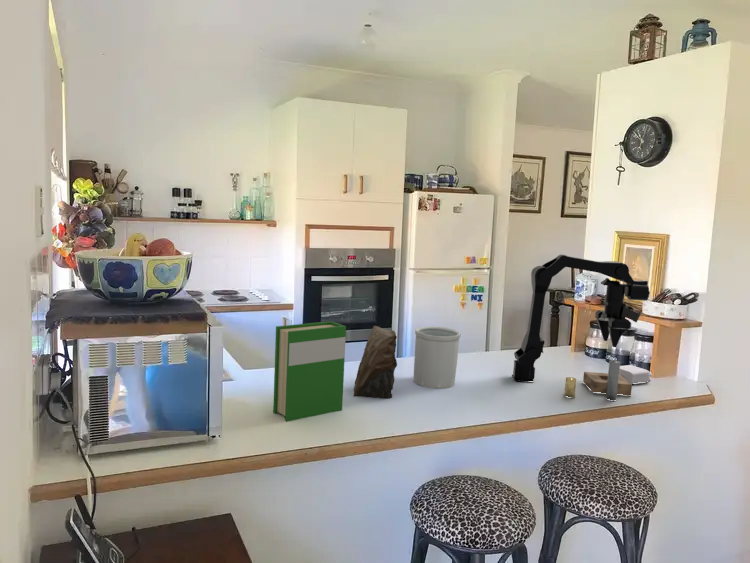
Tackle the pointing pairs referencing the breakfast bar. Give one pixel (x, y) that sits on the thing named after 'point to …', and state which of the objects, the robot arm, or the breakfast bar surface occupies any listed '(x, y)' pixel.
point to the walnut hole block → (605, 383)
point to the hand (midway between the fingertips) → (609, 343)
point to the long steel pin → (612, 379)
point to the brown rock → (377, 365)
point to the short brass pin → (570, 387)
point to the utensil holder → (436, 356)
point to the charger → (634, 374)
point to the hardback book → (309, 369)
